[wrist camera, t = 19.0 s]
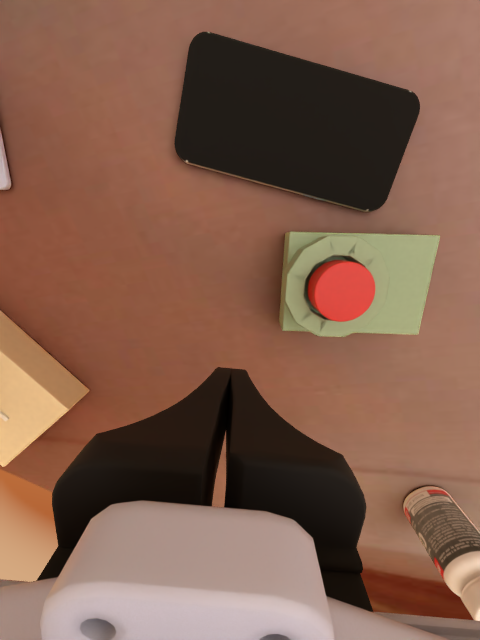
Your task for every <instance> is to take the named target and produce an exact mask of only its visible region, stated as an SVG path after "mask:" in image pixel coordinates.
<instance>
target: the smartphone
mask: <svg viewBox="0 0 480 640" xmlns="http://www.w3.org/2000/svg"><path fill="white" fill-rule="evenodd" d="M419 110H420V103H419V99H418V97H417V96H416V94H415V93H413V92H412V91H409V90H406V89H403V88H399V87H396V86H392V85H389V84H386V83H382V82H379V81H375V80H372V79H368V78H365V77H362V76H358V75H355V74H351V73H348V72H344V71H341V70H338V69H334V68H331V67H327V66H324V65H320V64H317V63H314V62H310V61H307V60H303V59H300V58H296V57H293V56H290V55H286V54H283V53H279V52H276V51H272V50H269V49H266V48H262V47H259V46H255V45H252V44H248V43H245V42H242V41H238V40H235V39H231V38H228V37H224V36H221V35H218V34H214V33H211V32H202V33H199V34H198V35H196V36H195V37H194V38H193V40H192V42H191V44H190V47H189V52H188V59H187V65H186V72H185V78H184V84H183V91H182V97H181V104H180V110H179V116H178V123H177V129H176V136H175V149H176V152H177V154H178V155H179V157H180V158H181V159H182V160H183V161H184V162H185V163H187V164H190V165H194V166H197V167H201V168H205V169H209V170H212V171H216V172H220V173H223V174H227V175H231V176H234V177H238V178H242V179H245V180H249V181H253V182H257V183H260V184H264V185H268V186H271V187H275V188H279V189H282V190H286V191H290V192H293V193H297V194H301V195H304V196H307V197H311V198H315V199H318V200H322V201H327V202H330V203H334V204H338V205H341V206H345V207H349V208H353V209H356V210H360V211H364V212H370V211H374V210H377V209H378V208H380V207H381V206H382V205H383V204H384V203H385V201H386V200H387V197H388V195H389V192H390V189H391V187H392V184H393V181H394V179H395V176H396V173H397V171H398V168H399V165H400V163H401V160H402V157H403V155H404V152H405V149H406V147H407V144H408V141H409V139H410V136H411V133H412V131H413V128H414V125H415V123H416V120H417V117H418V114H419Z"/></svg>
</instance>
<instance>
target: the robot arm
mask: <svg viewBox="0 0 480 640" xmlns="http://www.w3.org/2000/svg"><path fill="white" fill-rule="evenodd" d="M10 187H11V179H10V174H9V169H8V164H7V159H6V154H5V149H4V144H3V139H2V134H1V129H0V190H8V189H10ZM225 432H226V493H225V505H224V507H212V499H213V491H214V484H215V478H216V473H217V468H218V464H219V459H220V455H221V450H222V445H223V441H224V436H225ZM52 507H53V512H54V520H55V526H56V533H57V539H58V548H57V549H56V551H55V552H54V554H53V555H52V557H51V559H50V560H49V562H48V563H47V565H46V567H45V568H44V570H43V572H42V573H41V575H40V576H39V578H38V579H37V581H33V582H24V581H12V580H1V579H0V640H480V621H474V620H463V619H451V618H440V617H428V616H416V615H405V614H393V613H382V612H373V610H372V607H371V604H370V601H369V598H368V595H367V592H366V589H365V586H364V584H363V581H362V578H361V575H360V573H362V570H363V567H362V562H361V559H360V556H359V554H358V551H357V548H356V547H357V543H358V540H359V536H360V533H361V529H362V526H363V523H364V519H365V513H366V503H365V498H364V494H363V492H362V490H361V488H360V486H359V484H358V482H357V480H356V478H355V476H354V474H353V472H352V470H351V468H350V467H349V465H348V464H347V462H346V460H345V459H344V457H343V455H341V454H339V453H337V452H335V451H333V450H331V449H329V448H327V447H325V446H323V445H321V444H319V443H317V442H316V441H314V440H312V439H311V438H309V437H308V436H306V435H304V434H303V433H301V432H300V431H298V430H297V429H295V428H294V427H293V426H291V425H290V424H289V423H288V422H286V421H285V420H284V419H283V418H281V417H280V416H279V415H278V414H277V413H276V412H275V411H274V410H273V409H272V408H271V407H270V406H269V405H268V404H267V402H266V401H265V400H264V399H263V397H262V396H261V395H260V393H259V392H258V390H257V389H256V387H255V386H254V384H253V383H252V381H251V379H250V377H249V375H248V373H247V371H246V370H243V369H231V368H220V367H218V368H217V369H215V371H214V372H213V373H212V374H211V375H210V376H209V377H208V378H207V379H206V380H205V381H204V382H203V383H202V384H201V385H200V386H199V387H198V388H197V389H196V390H194V391H193V392H192V393H191V394H189V395H188V396H187V397H186V398H184V399H183V400H181V401H180V402H178V403H177V404H175V405H173V406H171V407H170V408H168V409H166V410H164V411H162V412H160V413H158V414H156V415H154V416H151V417H149V418H146V419H144V420H141V421H139V422H136V423H133V424H130V425H127V426H124V427H120V428H117V429H113V430H110V431H106V432H102V433H98V434H96V435H95V436H94V438H93V439H92V440H91V441H90V442H89V443H88V444H87V445H86V446H85V447H84V448H83V450H82V451H81V452H80V453H79V455H78V456H77V457H76V458H75V460H74V461H73V462H72V463H71V465H70V466H69V467H68V468H67V470H66V471H65V472H64V473H63V475H62V476H61V477H60V478H59V480H58V481H57V483H56V485H55V488H54V490H53V493H52Z"/></svg>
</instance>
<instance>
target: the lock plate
mask: <svg viewBox="0 0 480 640" xmlns="http://www.w3.org/2000/svg"><path fill="white" fill-rule="evenodd" d="M89 391H90V390H89V389H88V388H87V387H86V386H84V385H83V384H82V383H81V382H80V381H79V380H78V379H77V378H76V377H74V376H73V375H72V374H71V373H70V372H69V371H68V370H67V369H65V368H64V367H63V366H62V365H61V364H60V363H59V362H58V361H57V360H55V359H54V358H53V357H52V356H51V355H50V354H49V353H48V352H46V351H45V350H44V349H43V348H42V347H41V346H40V345H39V344H38V343H36V342H35V341H34V340H33V339H32V338H31V337H30V336H29V335H27V334H26V333H25V332H24V331H23V330H22V329H21V328H20V327H19V326H17V325H16V324H15V323H14V322H13V321H12V320H11V319H10V318H8V317H7V316H6V315H5V314H4V313H3V312H2V311H1V310H0V465H1V466H3V467H5V466H6V465H7V464H8V463H9V462H11V461H12V460H13V459H14V458H15V457H16V456H17V455H19V454H20V453H21V452H22V451H23V450H24V449H25V448H27V447H28V446H29V445H30V444H31V443H32V442H33V441H34V440H36V439H37V438H38V437H39V436H40V435H41V434H42V433H44V432H45V431H46V430H47V429H48V428H49V427H50V426H52V425H53V424H54V423H55V422H56V421H57V420H58V419H60V418H61V417H62V416H63V415H64V414H65V413H66V412H67V411H69V410H70V409H71V408H72V407H73V406H74V405H75V404H76V403H77V402H78V401H79V400H81V399H82V398H83V397H84V396H85V395H86V394H87V393H88V392H89Z"/></svg>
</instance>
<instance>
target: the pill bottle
mask: <svg viewBox="0 0 480 640" xmlns="http://www.w3.org/2000/svg"><path fill="white" fill-rule="evenodd" d="M403 510H404V513H405V515H406V517H407V519H408V520H409V522H410V524H411V525H412V527H413V529H414V530H415V532H416V534H417V535H418V537H419V539H420V540H421V542H422V544H423V546H424V547H425V549H426V551H427V552H428V554H429V556H430V557H431V559H432V561H433V562H434V564H435V566H436V567H437V569H438V571H439V573H440V574H441V576H442V578H443V579H444V581H445V582H446V584H447V585H448V587H449V588H450V589H451V590H452V591H453V592H454V593H455V594H456V595H458V596H460V597H461V599H462V601H463V603H464V605H465V606H466V608H467V609H468V611H469V612H470V614H471V616H472V617H473V619H474V620H475V621H480V531H479V530H478V529H477V527H476V526H475V525H474V524H473V523H472V521H471V520H470V519H469V518H468V516H467V515H466V514H465V513H464V511H463V510H462V509H461V508H460V507H459V505H458V504H457V503H456V502H455V500H454V499H453V498H452V497H451V496H450V494H449V493H448V492H446V491H445V490H443V489H441V488H439V487H434V486H427V487H422V488H419V489H417V490H415V491H413V492H412V493H410V494H409V495H408V496H407V497H406V499H405V501H404V504H403Z"/></svg>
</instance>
